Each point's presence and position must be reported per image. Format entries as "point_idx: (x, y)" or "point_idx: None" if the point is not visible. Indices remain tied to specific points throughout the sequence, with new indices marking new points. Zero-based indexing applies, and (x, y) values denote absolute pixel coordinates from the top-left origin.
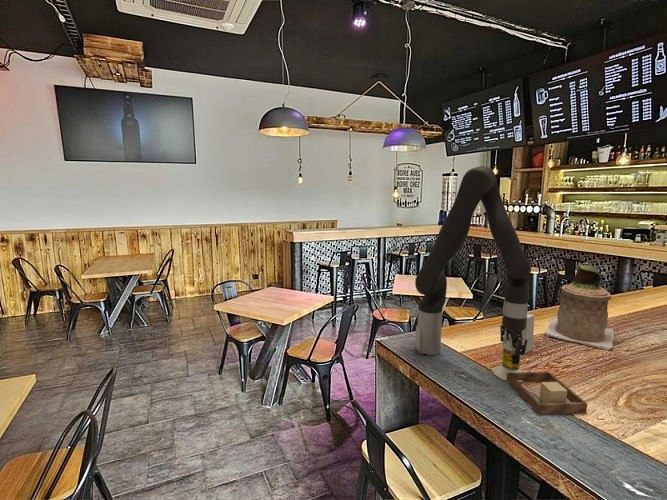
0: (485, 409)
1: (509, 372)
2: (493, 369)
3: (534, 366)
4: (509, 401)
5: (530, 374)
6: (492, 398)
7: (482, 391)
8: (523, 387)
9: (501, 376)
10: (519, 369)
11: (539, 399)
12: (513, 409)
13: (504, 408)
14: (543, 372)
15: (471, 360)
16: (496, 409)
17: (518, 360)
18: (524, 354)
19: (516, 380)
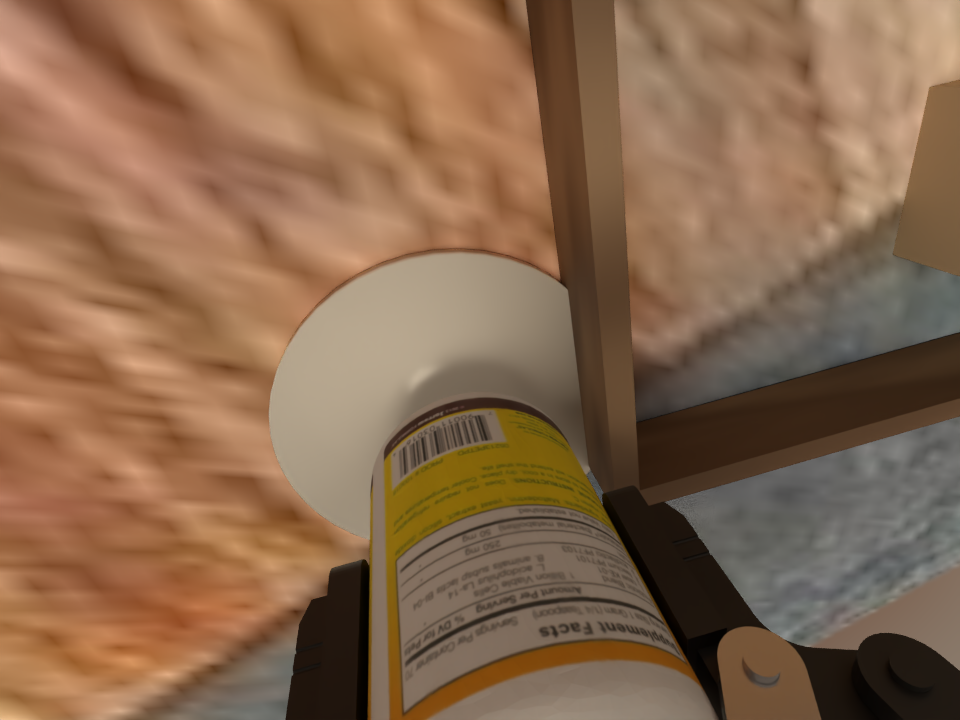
0: (888, 579)
1: None
2: None
3: (75, 15)
4: (854, 467)
5: (623, 277)
6: (801, 548)
7: None
8: (890, 422)
9: None
10: (339, 310)
11: (898, 254)
12: (936, 456)
13: (910, 499)
14: (594, 60)
15: (239, 663)
16: (905, 535)
17: (703, 556)
18: (930, 650)
19: (764, 457)
